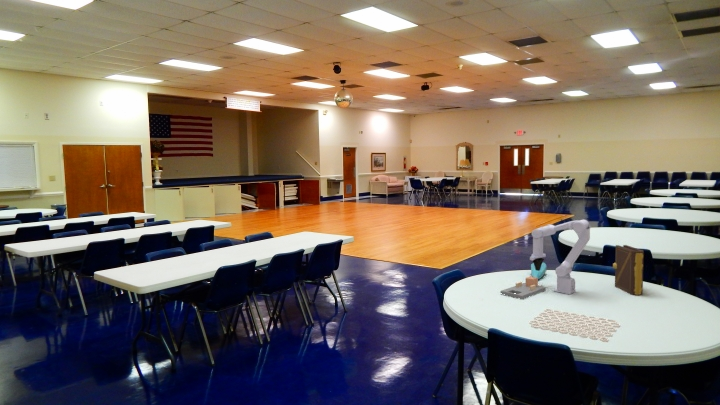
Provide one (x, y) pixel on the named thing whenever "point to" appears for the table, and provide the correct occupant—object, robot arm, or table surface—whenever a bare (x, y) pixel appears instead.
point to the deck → (523, 290)
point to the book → (629, 269)
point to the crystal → (538, 273)
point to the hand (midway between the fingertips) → (537, 270)
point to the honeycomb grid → (571, 328)
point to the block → (531, 281)
